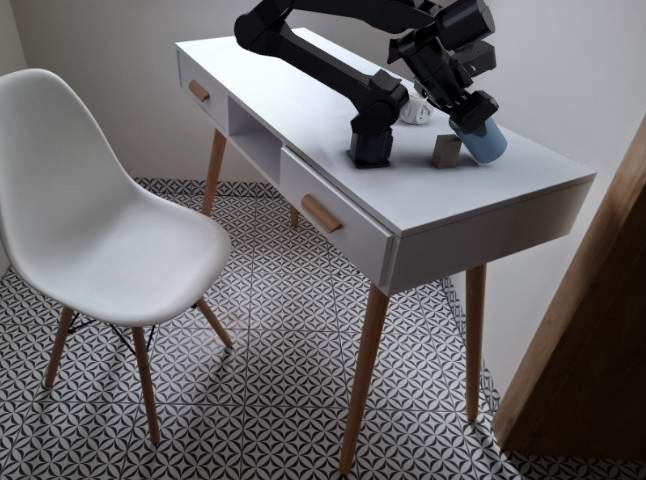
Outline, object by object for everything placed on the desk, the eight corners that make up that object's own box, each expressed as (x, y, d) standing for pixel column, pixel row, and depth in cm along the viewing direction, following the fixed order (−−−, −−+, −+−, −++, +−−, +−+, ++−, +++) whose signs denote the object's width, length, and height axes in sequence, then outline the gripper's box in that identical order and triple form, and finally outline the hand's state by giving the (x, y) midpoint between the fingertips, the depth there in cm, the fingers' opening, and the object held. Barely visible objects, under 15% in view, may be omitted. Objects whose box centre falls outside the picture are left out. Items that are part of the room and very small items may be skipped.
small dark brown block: (438, 168, 92) (445, 142, 88) (431, 160, 94) (437, 134, 91) (455, 167, 92) (462, 141, 89) (447, 159, 94) (454, 133, 91)
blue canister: (448, 172, 91) (466, 109, 83) (433, 156, 95) (448, 95, 88) (506, 167, 93) (528, 106, 85) (488, 152, 97) (508, 92, 90)
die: (431, 122, 108) (436, 98, 104) (413, 126, 105) (418, 102, 102) (414, 113, 111) (419, 90, 108) (397, 118, 109) (401, 94, 105)
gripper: (507, 41, 71) (548, 115, 80) (446, 9, 85) (487, 75, 94) (441, 101, 75) (487, 165, 84) (392, 60, 89) (437, 119, 98)
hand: (475, 127), depth 90 cm, fingers closed on blue canister, 6 cm apart
